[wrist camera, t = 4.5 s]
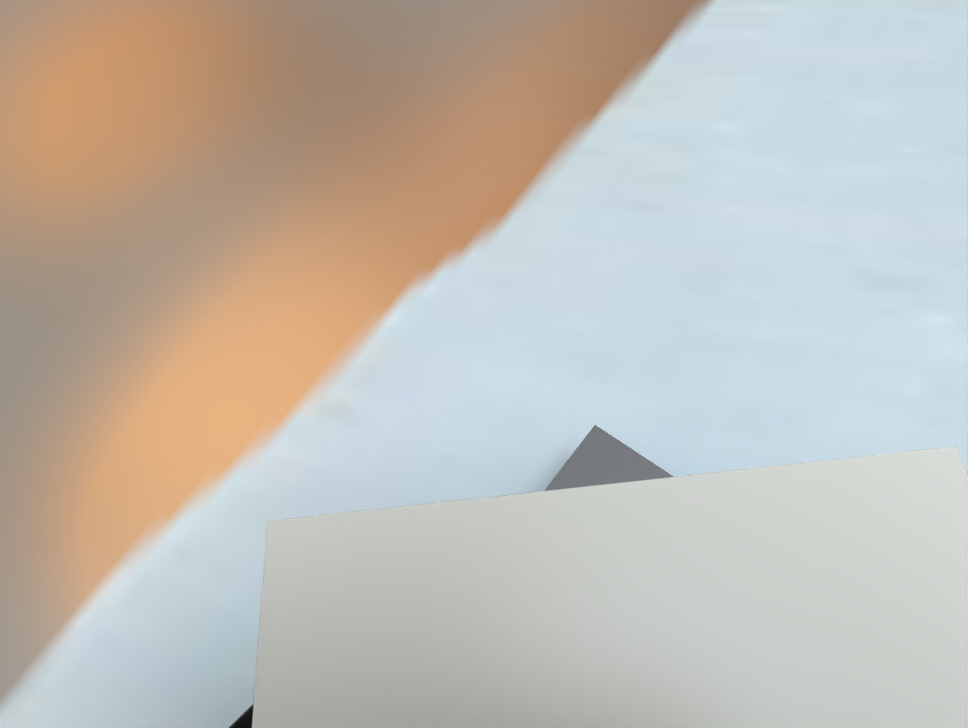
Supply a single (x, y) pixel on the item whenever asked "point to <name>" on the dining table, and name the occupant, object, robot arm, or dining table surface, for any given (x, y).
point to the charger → (632, 605)
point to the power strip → (604, 464)
